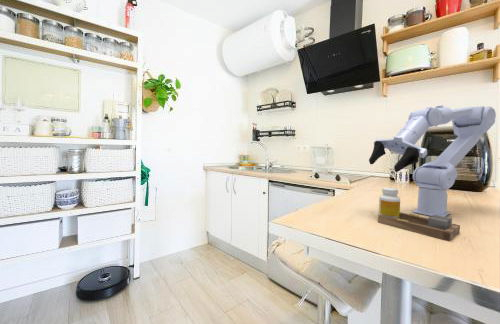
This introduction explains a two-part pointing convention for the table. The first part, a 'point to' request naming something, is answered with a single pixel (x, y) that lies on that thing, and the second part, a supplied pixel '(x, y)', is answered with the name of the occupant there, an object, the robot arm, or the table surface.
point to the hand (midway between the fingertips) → (382, 165)
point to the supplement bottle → (389, 203)
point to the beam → (424, 225)
